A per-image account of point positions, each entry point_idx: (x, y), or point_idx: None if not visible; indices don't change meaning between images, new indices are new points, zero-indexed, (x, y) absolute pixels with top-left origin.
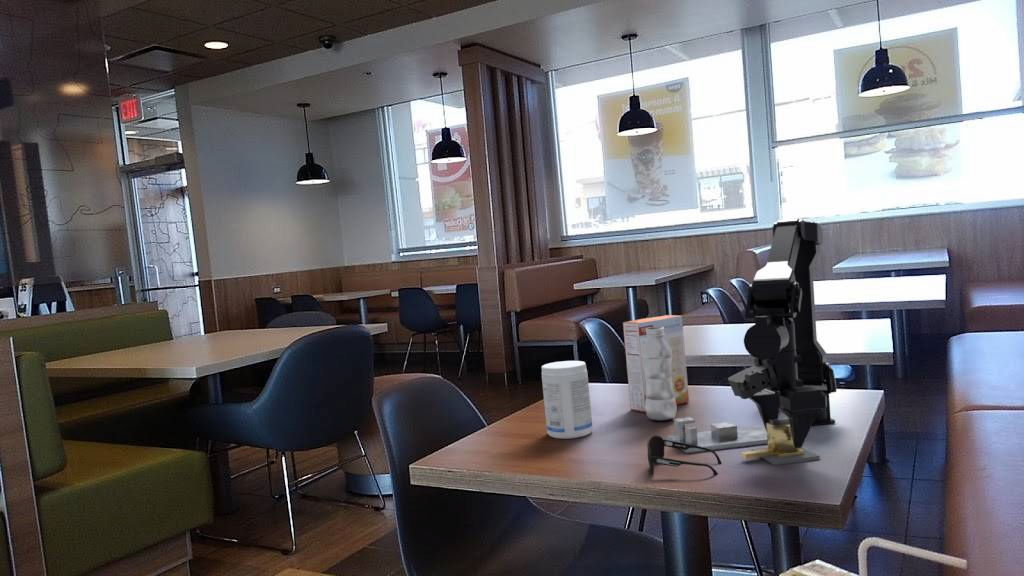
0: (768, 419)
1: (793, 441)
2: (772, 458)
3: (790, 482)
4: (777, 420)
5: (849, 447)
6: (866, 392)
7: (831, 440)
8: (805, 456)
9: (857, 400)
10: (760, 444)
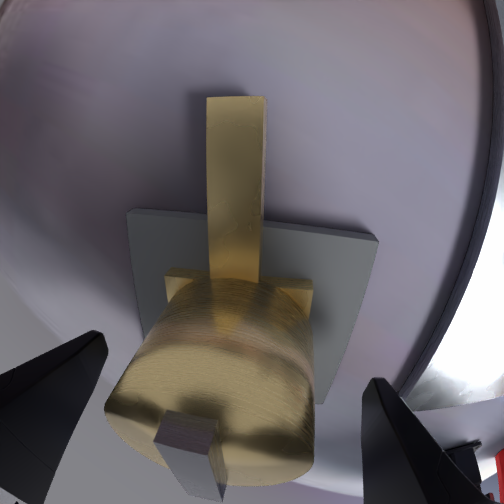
0: (387, 453)
1: (79, 344)
2: (170, 233)
3: (4, 165)
4: (162, 456)
5: None
6: None
7: (315, 457)
8: None
9: None
10: (435, 329)
